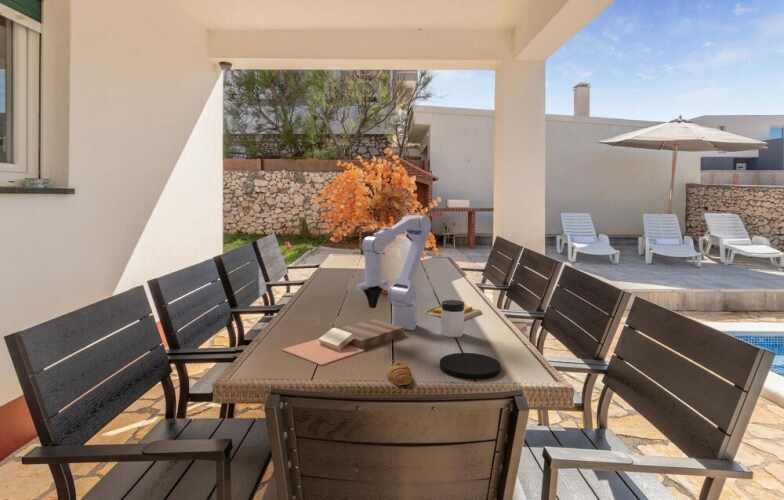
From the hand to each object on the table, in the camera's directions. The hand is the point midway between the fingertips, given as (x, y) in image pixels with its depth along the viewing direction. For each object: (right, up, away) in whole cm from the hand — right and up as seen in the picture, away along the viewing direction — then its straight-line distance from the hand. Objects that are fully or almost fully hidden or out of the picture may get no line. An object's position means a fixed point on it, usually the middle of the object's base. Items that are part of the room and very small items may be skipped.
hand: (372, 307), depth 170 cm
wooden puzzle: (+33, -8, +34) cm, 48 cm away
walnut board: (-2, -11, -1) cm, 11 cm away
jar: (+29, -11, +4) cm, 31 cm away
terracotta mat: (-15, -12, -16) cm, 25 cm away
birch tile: (-11, -10, -11) cm, 19 cm away
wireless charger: (+30, -15, -30) cm, 45 cm away
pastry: (+9, -16, -38) cm, 42 cm away
